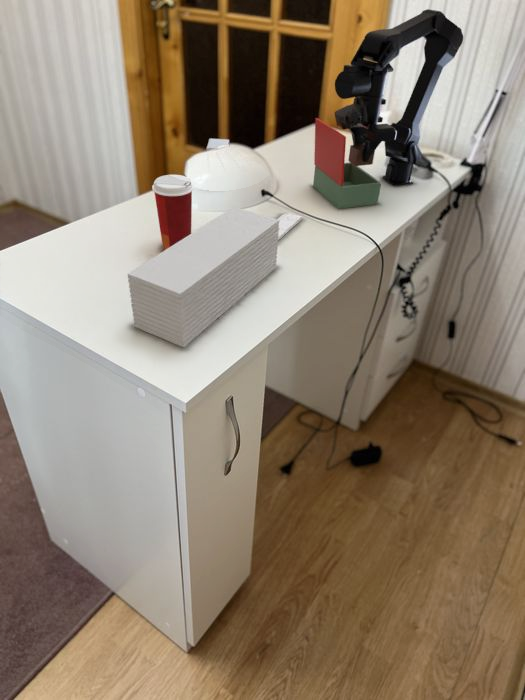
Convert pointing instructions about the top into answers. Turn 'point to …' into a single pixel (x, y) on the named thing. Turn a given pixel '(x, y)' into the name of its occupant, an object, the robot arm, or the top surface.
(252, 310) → the top surface
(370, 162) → the walnut block
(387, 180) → the robot arm
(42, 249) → the top surface
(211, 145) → the small box
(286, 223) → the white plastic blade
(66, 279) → the top surface
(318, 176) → the box
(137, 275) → the stack of papers
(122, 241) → the top surface
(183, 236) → the coffee cup
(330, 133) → the lid
